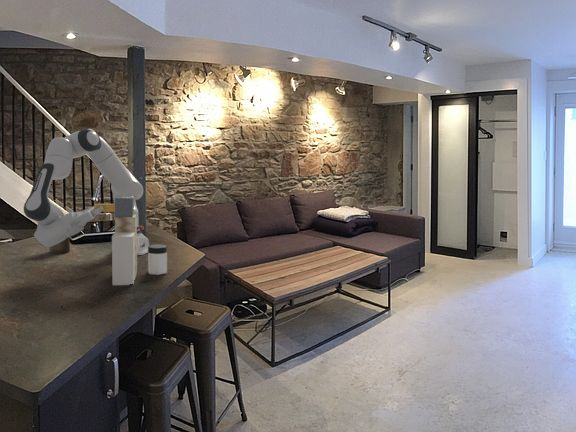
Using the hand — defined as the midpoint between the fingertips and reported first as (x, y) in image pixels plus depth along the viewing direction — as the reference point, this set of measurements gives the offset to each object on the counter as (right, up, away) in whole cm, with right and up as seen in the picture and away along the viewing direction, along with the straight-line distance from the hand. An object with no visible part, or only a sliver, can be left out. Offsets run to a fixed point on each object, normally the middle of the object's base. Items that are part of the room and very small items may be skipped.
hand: (104, 206), depth 203 cm
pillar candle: (-40, -23, +43) cm, 63 cm away
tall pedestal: (+7, -30, +6) cm, 31 cm away
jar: (+19, -30, +12) cm, 37 cm away
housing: (+4, -4, +1) cm, 6 cm away
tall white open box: (+10, -31, -4) cm, 33 cm away
